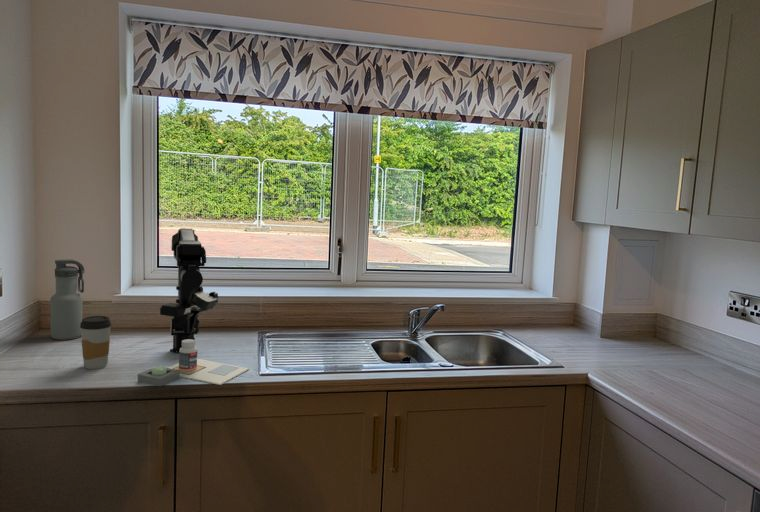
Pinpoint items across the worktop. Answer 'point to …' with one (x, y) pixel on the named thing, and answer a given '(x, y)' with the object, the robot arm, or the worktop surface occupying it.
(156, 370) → the button
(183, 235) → the robot arm
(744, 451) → the worktop surface
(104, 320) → the coffee cup
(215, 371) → the picture board
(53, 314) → the water bottle
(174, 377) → the button housing
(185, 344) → the pill bottle
